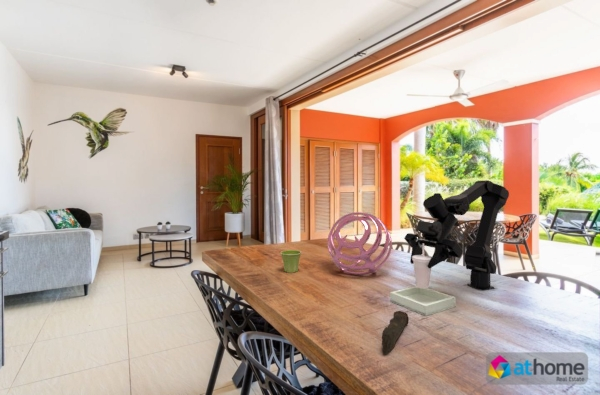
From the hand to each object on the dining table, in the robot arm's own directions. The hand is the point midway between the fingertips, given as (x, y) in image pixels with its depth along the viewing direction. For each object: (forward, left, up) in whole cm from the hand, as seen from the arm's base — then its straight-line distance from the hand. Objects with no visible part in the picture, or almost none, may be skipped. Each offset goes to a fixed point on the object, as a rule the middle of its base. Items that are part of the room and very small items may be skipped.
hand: (419, 265), depth 101 cm
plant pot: (+25, -54, -13) cm, 61 cm away
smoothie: (-1, 0, -7) cm, 8 cm away
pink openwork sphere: (-1, -40, -13) cm, 42 cm away
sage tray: (-1, 0, -13) cm, 13 cm away
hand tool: (+21, +15, -13) cm, 29 cm away
